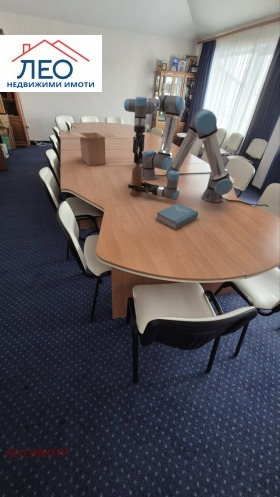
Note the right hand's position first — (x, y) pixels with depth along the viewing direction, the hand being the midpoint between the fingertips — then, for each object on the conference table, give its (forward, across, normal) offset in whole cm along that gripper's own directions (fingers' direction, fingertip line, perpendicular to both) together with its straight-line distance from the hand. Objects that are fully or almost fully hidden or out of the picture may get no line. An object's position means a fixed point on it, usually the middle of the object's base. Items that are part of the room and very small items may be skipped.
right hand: (131, 184), depth 170 cm
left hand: (-5, 0, +18) cm, 18 cm away
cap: (-5, 0, +19) cm, 19 cm away
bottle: (-5, 0, -7) cm, 8 cm away
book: (-45, -23, -7) cm, 51 cm away
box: (+73, +53, -7) cm, 91 cm away
